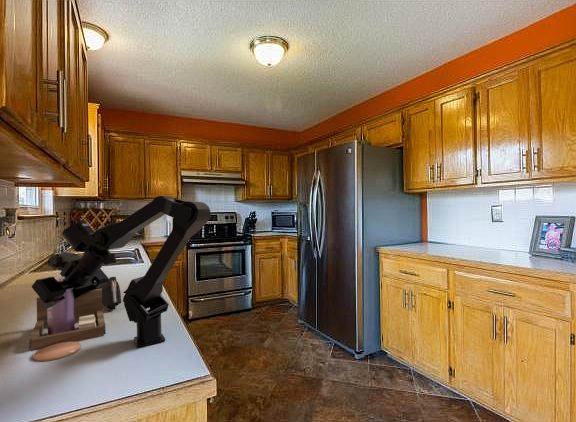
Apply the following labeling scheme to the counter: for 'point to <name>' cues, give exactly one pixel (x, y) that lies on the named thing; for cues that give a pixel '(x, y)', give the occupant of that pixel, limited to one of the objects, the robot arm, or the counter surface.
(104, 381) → the counter surface
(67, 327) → the beverage can
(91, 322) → the offcut stack
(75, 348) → the peach round disc
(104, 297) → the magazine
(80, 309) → the walnut rack
